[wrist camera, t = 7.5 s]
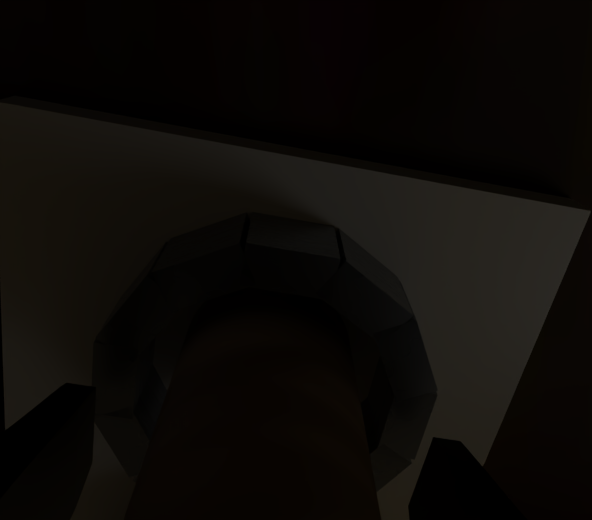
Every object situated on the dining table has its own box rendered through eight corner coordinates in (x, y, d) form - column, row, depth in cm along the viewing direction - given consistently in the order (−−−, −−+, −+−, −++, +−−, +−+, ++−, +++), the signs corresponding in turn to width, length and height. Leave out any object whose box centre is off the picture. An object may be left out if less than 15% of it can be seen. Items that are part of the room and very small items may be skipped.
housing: (571, 198, 14) (639, 242, 11) (381, 669, 22) (393, 762, 19) (14, 95, 13) (-61, 115, 10) (25, 629, 21) (-16, 722, 18)
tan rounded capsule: (370, 298, 14) (420, 475, 9) (325, 429, 16) (343, 648, 10) (201, 260, 14) (139, 422, 8) (174, 400, 15) (107, 612, 10)
